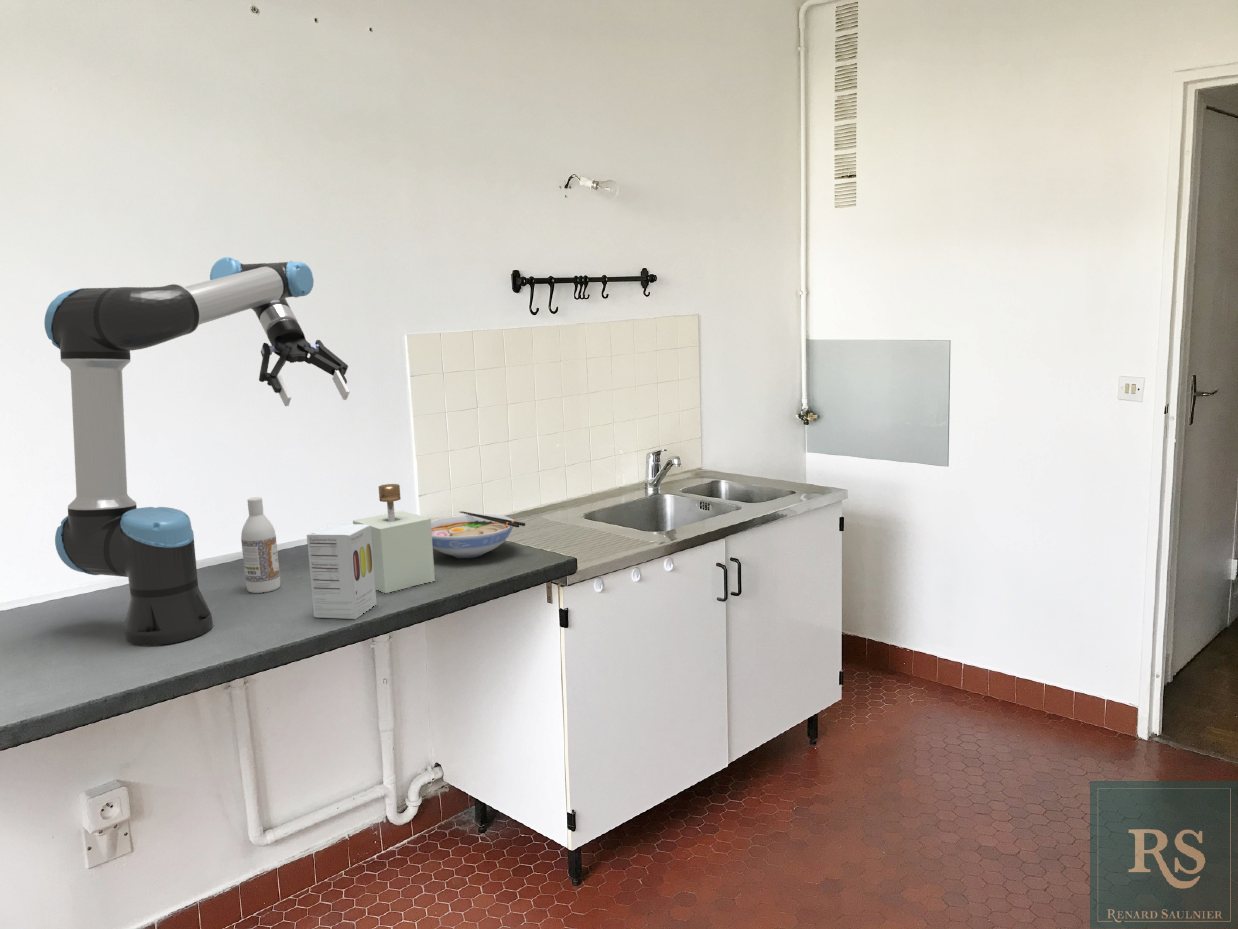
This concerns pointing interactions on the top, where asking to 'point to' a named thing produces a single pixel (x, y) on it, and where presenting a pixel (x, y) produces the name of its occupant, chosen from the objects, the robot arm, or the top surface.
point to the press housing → (401, 550)
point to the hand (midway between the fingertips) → (318, 398)
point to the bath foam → (259, 550)
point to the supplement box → (341, 570)
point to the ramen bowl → (470, 533)
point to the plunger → (389, 498)
